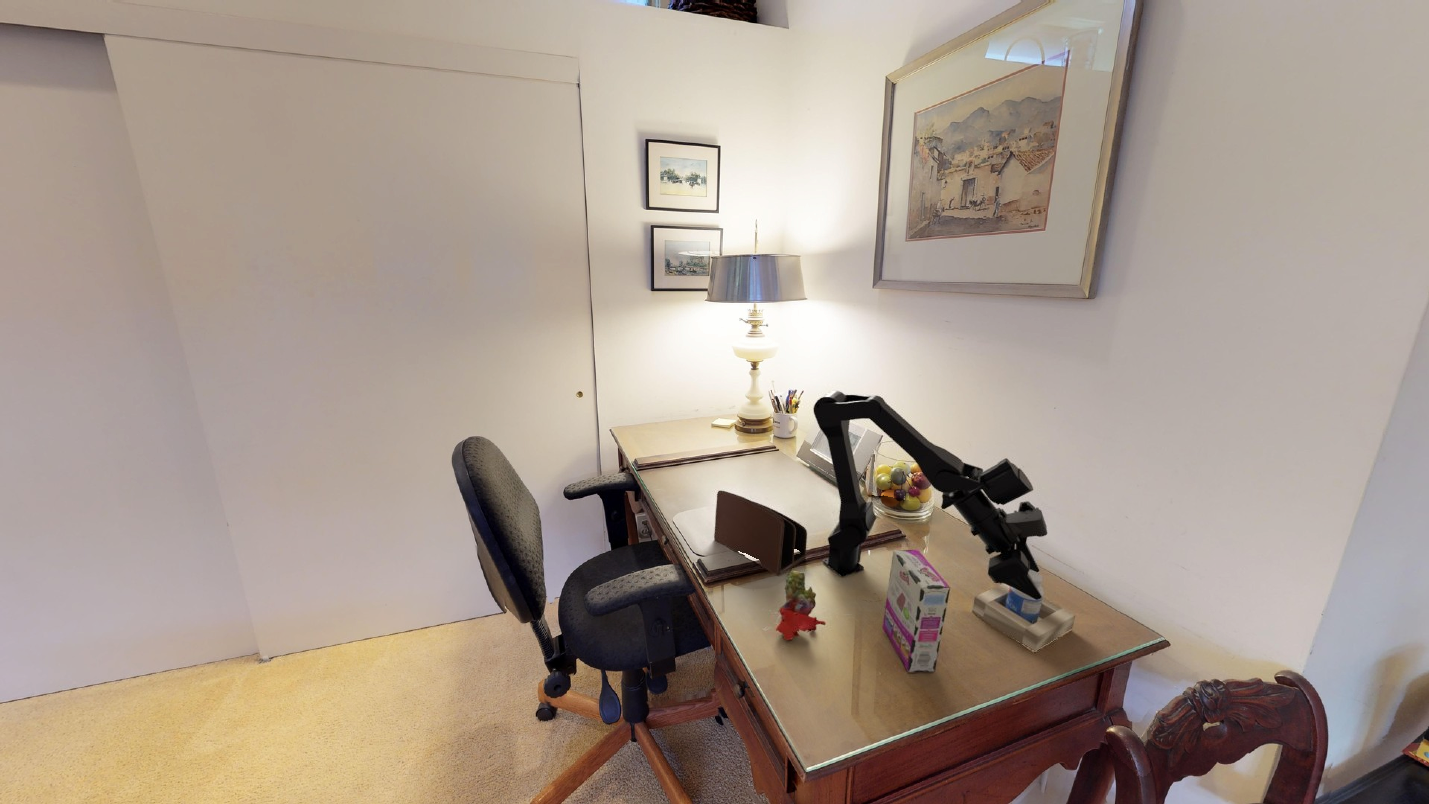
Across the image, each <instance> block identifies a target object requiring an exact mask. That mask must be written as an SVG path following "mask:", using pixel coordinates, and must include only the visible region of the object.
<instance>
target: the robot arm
mask: <svg viewBox="0 0 1429 804" xmlns="http://www.w3.org/2000/svg"><path fill="white" fill-rule="evenodd" d="M812 408H813V409H812V410H813V415H814V417H815V419H816V423H817V425H818V426H819V427H818V428H819V429H820V430H821V431H822V433H823V434H824V436H825V437H826V439H827V443H828V449H829V454H830V457H831V462H832V467H833V472H834V476H835V480H836V485H837V489H838V490H837V491H838V495H839V499H840V506H839V515H838V522H837V524H836V525H835V527H834V528H833V530H832V532H831V533H830V534H829V536H828V537H827V542H828V545H829V548H828V549H829V550H828V558H824V559H823V560H822V563H823V564H825V565H826V566H827V567H829V569H831V570H832V571H833V572H835V573H836V574H837V575H839V576H840V577H842V578H844V577H848V576H850V575H852V574H856V573H858V572H861V571H863V570H864V569H865V567H864V566H863V565H862V564H861V563H860V562H861V554H862V544H863V543H865V541H866V540H867V538H868V537H869V535H870V533H871V531H872V529H873V527H874V526H875V522H876V520H877V516H876V514H875V512H874V511H875V510H874V502H873V501H866V500H865V498H864V497H863V496H862V491H861V487H860V483H859V476H858V472H857V468H856V464H855V458H854V454H853V453H854V452H853V449H852V448H853V447H852V444H851V440H850V435H849V430H850V423H851V422H850V421H851V420H852V421H853V420H854V421H855V420H860V419H864V420H865V419H867V420H870V421H871V422H873V424H875V425H876V426H877V428H879V429H880V430H881V432H883V433H885V435H887V436H888V437H889V438H890V439H891V440H892V441H894V443H895V444H897V445H898V446H899V447H900V448H901V449H902V450H903V451H905V453H906V454H907V455H908V456H910V457H911V458H912V459H913V461H915V462H916V464H917V466H918V468H919V470H920V472H921V473H922V475H923V476H924V477H925V478H926V480H927V482H929V483H930V485H931V486H932V488H934V489H935V490H936V491H938V492H940V493H942V495H941V498H942V500H941V501H942V502H941V506H940V508H941V509H942V510H946V509H948V508H949V507H951V506H954V508H955V509H956V510H957V512H958V513H959V514H960V515H961V516H962V518H963V519H964V521H966V523H967V524H968V525H969V526H970V527H971V528H970V534H972V536H973V537H976V536H978V538H979V539H980V540H981V541H982V543H983V544H984V545H985V549H984V550H985V551H986V552H987V554H988V555H991V554H993V553H997V555H994V556H992V557H990V558H989V560H988V565H987V566H988V567H987V575H988V577H989V578H990V579H991V581H992V582H994V584H1006V585H1008V586H1011V587H1013V588H1015V589H1017V590H1019V591H1021V592H1022V593H1024V594H1026V595H1028V596H1030V597H1032V598H1034V599H1036V600H1038V599H1041V598H1042V596H1041V594H1040V592H1039V590H1038V589H1037V587H1036V585H1035V583H1034V582H1033V580H1032V578H1031V577H1030V575H1029V573H1028V572H1029V570H1033V571H1035V572H1037V573H1039V572H1040V568H1039V566H1038V564H1037V562H1036V560H1035V558H1034V556H1033V554H1032V552H1031V550H1030V547H1029V546H1028V543H1027V540H1028V538H1031V537H1032V538H1033V537H1039V538H1041V537H1045V536H1047V535H1048V529H1047V524H1046V521H1045V517H1044V515H1043V511H1042V510H1041V509H1040V508H1039V507H1035V506H1034V505H1033V504H1032V503H1031V502H1030V501H1027V500H1025V501H1020V502H1019V506H1018V510H1014V511H1013V512H1011V513H1007V512H1006V511H1005V510H1004V509H1003V508H1001V507H996V506H995V505H994V504H996V505H998V506H999V505H1002V506H1004V505H1006V504H1008V503H1010V502H1012V501H1015V500H1017V499H1019V498H1020V497H1023V496H1025V495H1027V494H1028V493H1031V492H1033V491H1034V487H1033V485H1032V482H1031V481H1030V479H1029V478H1028V476H1027V475H1026V474H1025V472H1024V471H1023V470H1022V469H1021V468H1020V467H1018V466H1017V465H1016V464H1014V463H1013V462H1011V461H1010V460H1009V459H1008V458H1006V457H1005V458H1003V459H1001V460H1000V461H999V462H997V464H995V465H993V466H991V467H989V468H988V469H985V470H984V468H981V467H979V466H975V465H972V464H968V463H966V462H964V461H963V460H962V459H961V458H959V457H958V456H956V455H955V454H953V453H951V451H949V450H947V449H945V448H944V447H940V446H939V445H936V444H934V443H933V442H931V441H929V440H928V439H927V438H926V437H925V436H924V435H922V433H920V431H918V430H917V429H916V428H915V427H913V426H912V424H910V423H909V422H908V420H906V419H905V418H903V416H902V415H900V414H899V413H898V412H897V411H896V410H895V409H894V408H892V407H891V406H890V405H889V404H888V403H887V402H886V401H885V399H884V398H883V397H881V396H880V395H877V394H876V395H864V394H863V395H862V394H856V393H855V394H850V393H849V394H848V393H846V394H845V393H844V392H842V391H839V390H831V391H829V392H828V393H826V394H824V395H823V396H821V397H820V398H818V399H817V400H816V402H815V403H814V405H813V407H812ZM993 503H994V504H993Z"/></svg>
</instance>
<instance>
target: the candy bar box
mask: <svg viewBox="0 0 1429 804" xmlns="http://www.w3.org/2000/svg"><path fill="white" fill-rule="evenodd" d="M887 586H888V587H887V594H886V601H885V607H884V608H885V609H884V614H883V621H882V628H883V631H884V633H885V635H886V636H887V638H888V640H889V641H890V643H891V645H892V646H893V648H894V651H896V653H897V656H898V657H899V659H900V661H901V662H902V663H903V665H904V668H905V669H906V670H907V673H911V674H913V673H934V672H936V668H937V663H938V656H939V651H940V644H941V640H942V633H943V628H944V625H945V624H944V623H945V617H946V613H947V606H948V601H949V597H950V591H951V586H950V585H949V584H948V582H947V581H945V579H944V578H943V577H942V575H940V574H939V572H938V571H937V570H936V569H935V568H934V566H932V564H931V563H930V562H929V561H928V559H926V557H925V556H924V555H923V553H921V551H920V550H919V549H897V550H896V549H895V550H893V551H892V559H891V565H890V572H889V580H888V585H887Z"/></svg>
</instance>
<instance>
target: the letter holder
mask: <svg viewBox="0 0 1429 804" xmlns="http://www.w3.org/2000/svg"><path fill="white" fill-rule="evenodd" d="M714 517H715V522H714V534H713V536H714V537H713V538H714V541H716V542H718V543H719V542H720V544H721V543H722V545H723V546H725V547H727V548H728V547H729V549H730V548H731V549H730V550H732V549H733V550H732V551H734V550H735V551H740V552H742V553H746V554H748V555H750V556H752V557H754V558H756V559H759V560H760V562H761V564H762V568H763V569H765V570H767V571H769V572H770V573H772V574H774V575H775V576H777V577H779V576H782V575H783V574H784V573H786V572H788V571H789V570H791V569H792V568H793V567H795V566H797V565H798V564H800V563H801V562H802V561H804V560H805V559H806V555H807V542H808V532H807V531H808V530H807V529H806V527H804V525H802V524H801V523H799V522H797V521H796V520H794V519H793V518H790V517H788V516H787V515H785V514H783V513H781V512H779V511H777V510H775V509H773V508H771V507H769V506H766V505H764V504H761V503H758V502H756V501H752V500H751V499H748V498H746V497H743V496H741V495H738V494H735V493H732V492H729V491H725V490H718V491H717V493H716V505H715V516H714ZM794 549H797V550H799V551H800V552H801V553H800V554H796V555H794ZM735 551H734V552H735Z"/></svg>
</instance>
